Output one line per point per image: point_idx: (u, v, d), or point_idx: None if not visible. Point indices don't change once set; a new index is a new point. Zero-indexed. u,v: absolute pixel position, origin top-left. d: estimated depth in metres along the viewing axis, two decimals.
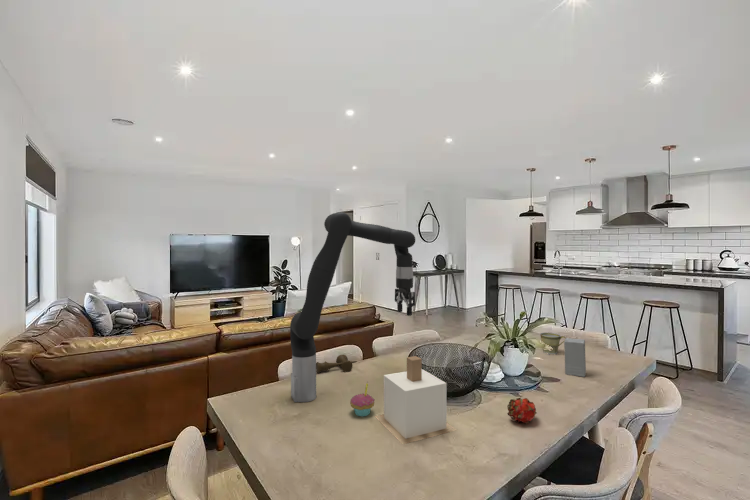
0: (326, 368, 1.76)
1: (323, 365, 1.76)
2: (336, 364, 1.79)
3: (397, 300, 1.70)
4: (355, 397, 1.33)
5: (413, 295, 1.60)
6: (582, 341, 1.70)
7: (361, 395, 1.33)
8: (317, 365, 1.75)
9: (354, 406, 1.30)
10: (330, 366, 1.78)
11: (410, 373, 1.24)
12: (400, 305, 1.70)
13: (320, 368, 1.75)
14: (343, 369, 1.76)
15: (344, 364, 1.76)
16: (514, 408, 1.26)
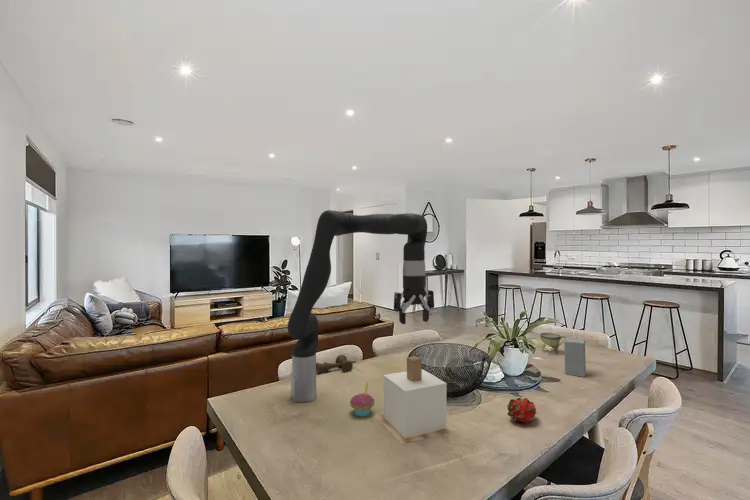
0: (326, 369, 1.75)
1: (323, 366, 1.75)
2: (336, 364, 1.79)
3: (404, 308, 1.23)
4: (355, 397, 1.33)
5: None
6: (582, 341, 1.70)
7: (361, 395, 1.33)
8: (317, 366, 1.74)
9: (354, 406, 1.30)
10: (330, 367, 1.77)
11: (410, 373, 1.24)
12: None
13: (320, 369, 1.74)
14: (343, 369, 1.76)
15: (344, 364, 1.76)
16: (514, 408, 1.26)
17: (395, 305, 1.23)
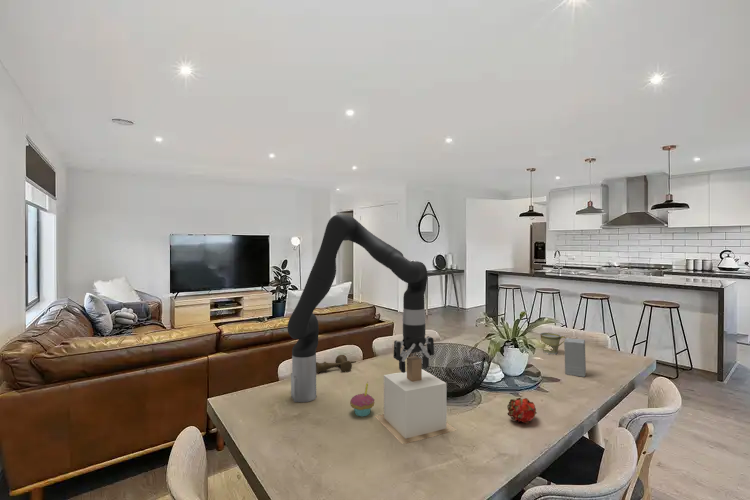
0: (325, 368, 1.76)
1: (322, 365, 1.76)
2: (335, 364, 1.79)
3: (404, 357, 1.23)
4: (355, 397, 1.33)
5: None
6: (582, 341, 1.70)
7: (361, 395, 1.33)
8: (316, 365, 1.75)
9: (354, 406, 1.30)
10: (329, 366, 1.77)
11: (410, 373, 1.24)
12: None
13: (319, 368, 1.75)
14: (342, 369, 1.76)
15: (343, 364, 1.76)
16: (514, 408, 1.26)
17: (395, 353, 1.24)
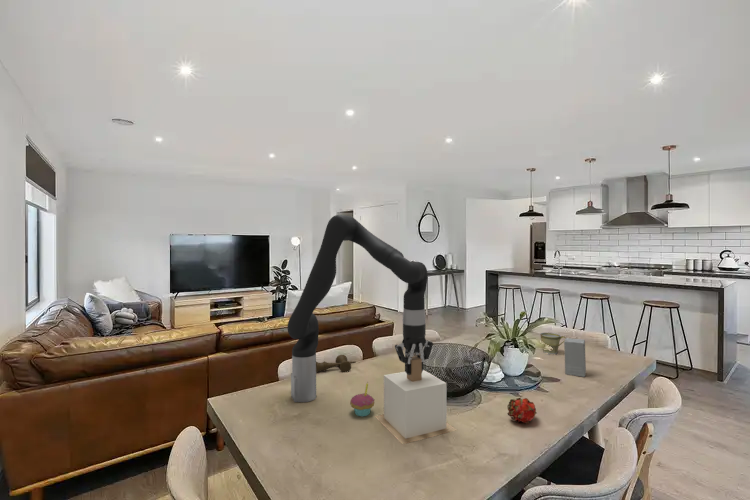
0: (325, 368, 1.76)
1: (322, 365, 1.77)
2: (335, 364, 1.79)
3: (409, 359, 1.24)
4: (355, 397, 1.33)
5: None
6: (582, 341, 1.70)
7: (361, 395, 1.33)
8: (316, 365, 1.76)
9: (354, 406, 1.30)
10: (329, 366, 1.78)
11: None
12: None
13: (318, 368, 1.75)
14: (341, 369, 1.76)
15: (342, 364, 1.76)
16: (514, 408, 1.26)
17: (400, 356, 1.24)
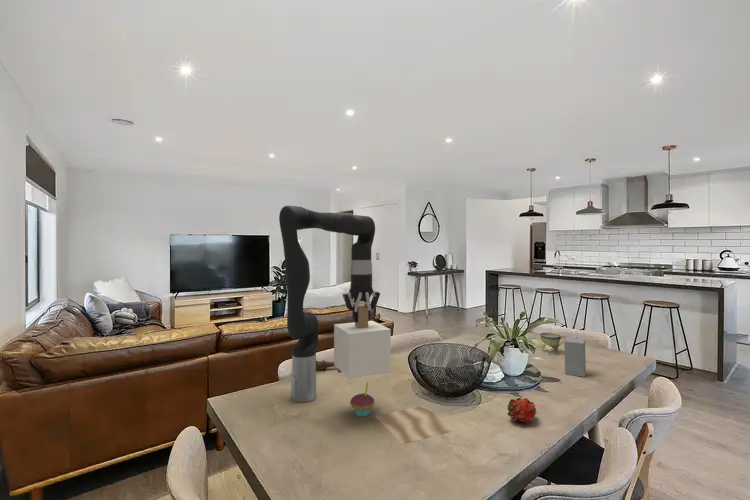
0: (323, 367, 1.78)
1: (320, 363, 1.78)
2: None
3: (355, 307, 1.30)
4: (355, 397, 1.33)
5: None
6: (582, 341, 1.70)
7: (361, 395, 1.33)
8: None
9: (354, 406, 1.30)
10: (327, 365, 1.79)
11: None
12: None
13: (317, 366, 1.78)
14: None
15: None
16: (514, 408, 1.26)
17: (347, 305, 1.31)
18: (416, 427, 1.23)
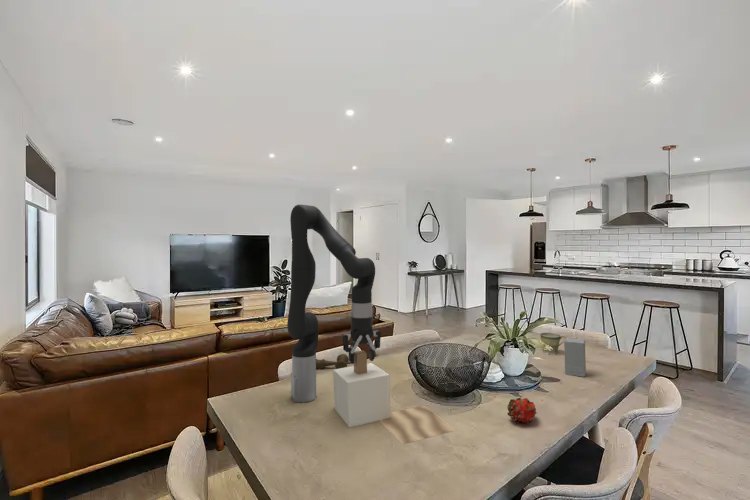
0: (321, 365, 1.80)
1: (319, 362, 1.81)
2: (333, 363, 1.81)
3: (352, 349, 1.30)
4: None
5: None
6: (582, 341, 1.70)
7: None
8: None
9: None
10: (326, 364, 1.81)
11: (356, 366, 1.32)
12: None
13: None
14: (337, 368, 1.77)
15: (337, 363, 1.77)
16: (514, 408, 1.26)
17: (344, 346, 1.31)
18: (416, 427, 1.23)
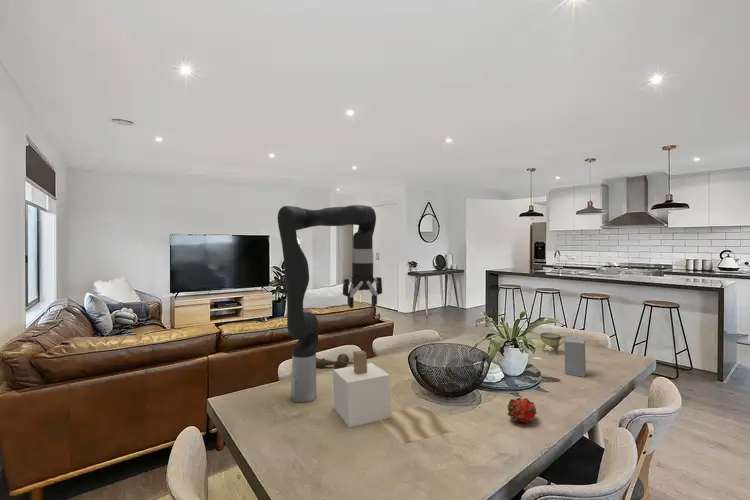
0: (321, 364, 1.81)
1: (319, 361, 1.82)
2: (332, 362, 1.82)
3: (352, 293, 1.32)
4: None
5: None
6: (582, 341, 1.70)
7: None
8: None
9: None
10: (326, 363, 1.82)
11: (356, 366, 1.32)
12: None
13: None
14: (335, 368, 1.78)
15: (336, 363, 1.78)
16: (514, 408, 1.26)
17: (344, 290, 1.32)
18: (416, 427, 1.23)
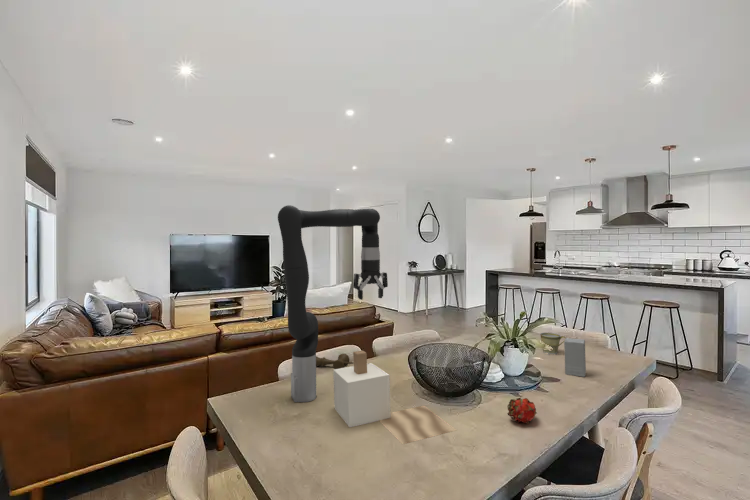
0: (321, 363, 1.83)
1: (319, 360, 1.84)
2: (332, 362, 1.83)
3: (361, 286, 1.50)
4: None
5: None
6: (582, 341, 1.70)
7: None
8: None
9: None
10: (326, 362, 1.83)
11: (356, 366, 1.32)
12: None
13: None
14: (334, 367, 1.79)
15: (335, 363, 1.78)
16: (514, 408, 1.26)
17: (354, 284, 1.50)
18: (416, 427, 1.23)
